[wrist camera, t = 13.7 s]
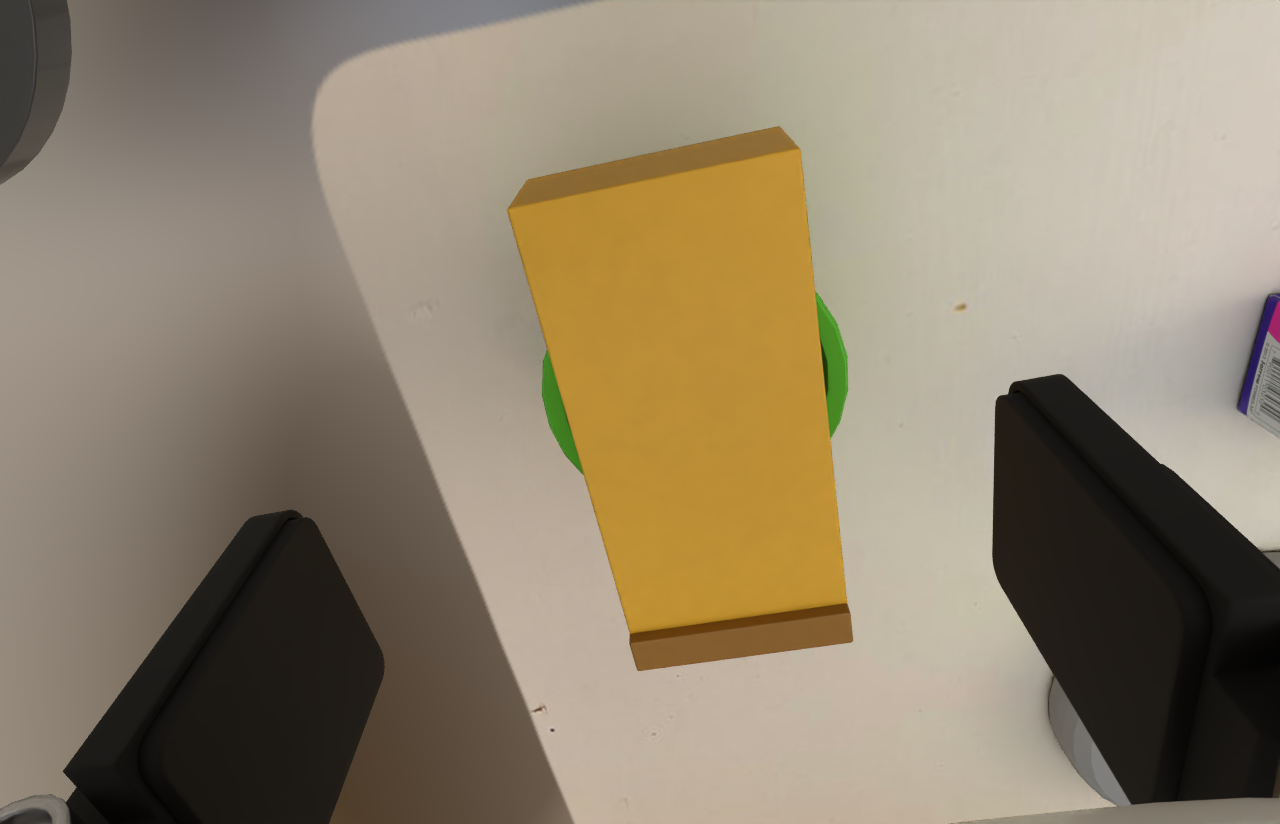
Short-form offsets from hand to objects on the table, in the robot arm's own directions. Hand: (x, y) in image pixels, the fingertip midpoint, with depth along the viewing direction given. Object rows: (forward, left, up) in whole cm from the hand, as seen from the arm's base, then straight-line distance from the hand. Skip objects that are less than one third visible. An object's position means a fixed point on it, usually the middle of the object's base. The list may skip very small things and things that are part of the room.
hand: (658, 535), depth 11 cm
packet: (+3, -3, -12) cm, 12 cm away
